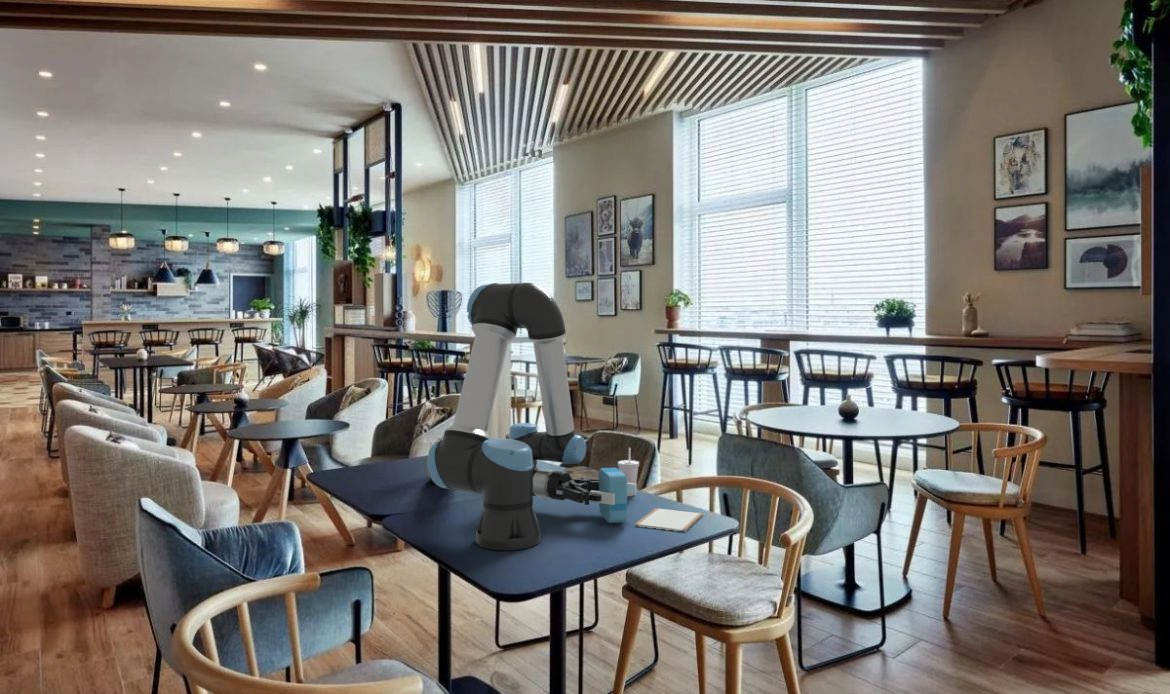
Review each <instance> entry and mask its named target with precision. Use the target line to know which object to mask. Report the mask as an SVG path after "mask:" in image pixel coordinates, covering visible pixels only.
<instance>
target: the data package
mask: <svg viewBox="0 0 1170 694" xmlns="http://www.w3.org/2000/svg"><path fill="white" fill-rule="evenodd" d="M598 471H599V492H607V493H615V505H609V504H602V503H598V510H599V513H600V515H601V516H602V517H603V519H604V520H605V521H606V522H607V523H609V524H610V523H611V524H613V523H614V524H615V523H616V524H617V523H626V522H627V518H628V496H627V477H626V475H625V474H624V473H622V472H621V471H620V470H619V468H617V467H601V468H599V470H598Z"/></svg>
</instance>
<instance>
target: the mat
mask: <svg viewBox="0 0 1170 694" xmlns="http://www.w3.org/2000/svg"><path fill="white" fill-rule="evenodd" d="M702 517H704V513H703V512H691V511H683V510H682V511H681V510H673V509H665V508H659V507H656V508H655V507H654V509H653V510H651V511H650V512H649V513H647V514H646V515H645V516H643V517H642V518H641V519H639V520H638V521H636V522H635V523H634V527H637V526H638V528H645V527H647V528H646V529H653V528H656V529H655V530H661V529H665V530H664V531H669V530H674V531H673V532H677V531H686V530H688V529H689V528H690V527H691V526H692V525H693V524H694V523H695V522H696V521H697V520H698V519H699V518H700V519H702ZM700 519H699V520H700ZM699 520H698V521H699ZM698 521H697V522H698ZM697 522H696V523H697ZM696 523H695V524H696ZM695 524H694V525H695ZM694 525H693V526H694ZM693 526H692V527H693ZM692 527H691V528H692ZM691 528H690V529H691ZM690 529H689V530H690ZM689 530H688V531H689ZM686 532H687V531H686Z"/></svg>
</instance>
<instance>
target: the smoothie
mask: <svg viewBox="0 0 1170 694" xmlns="http://www.w3.org/2000/svg"><path fill="white" fill-rule="evenodd" d="M631 450H632V449H631V447H628V459H625V460H623V459H622V460H620V461H618V462H617V467H618V469H619V470H620V471H621V472H622V473H624V474H625V475H626V477H627V483H633V484H637V481H638V472H639V467H640V461H638V460H634V459H633V460H632V459H631V458H632V457H631V456H632V455H631V454H632V453H631ZM627 497H634V496H633V494H627Z"/></svg>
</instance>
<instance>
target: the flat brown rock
mask: <svg viewBox="0 0 1170 694" xmlns="http://www.w3.org/2000/svg"><path fill="white" fill-rule="evenodd" d="M599 471H600V470H597V469H593V468H590V467H587V466H583V465H581V466H572V467H569V468H565V469H564V470H563V471H562V472H567V473H568V474H569V475H570V477H571V479H572V480H574V479H581V478H589V479H599ZM586 490H587V488H586Z"/></svg>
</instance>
